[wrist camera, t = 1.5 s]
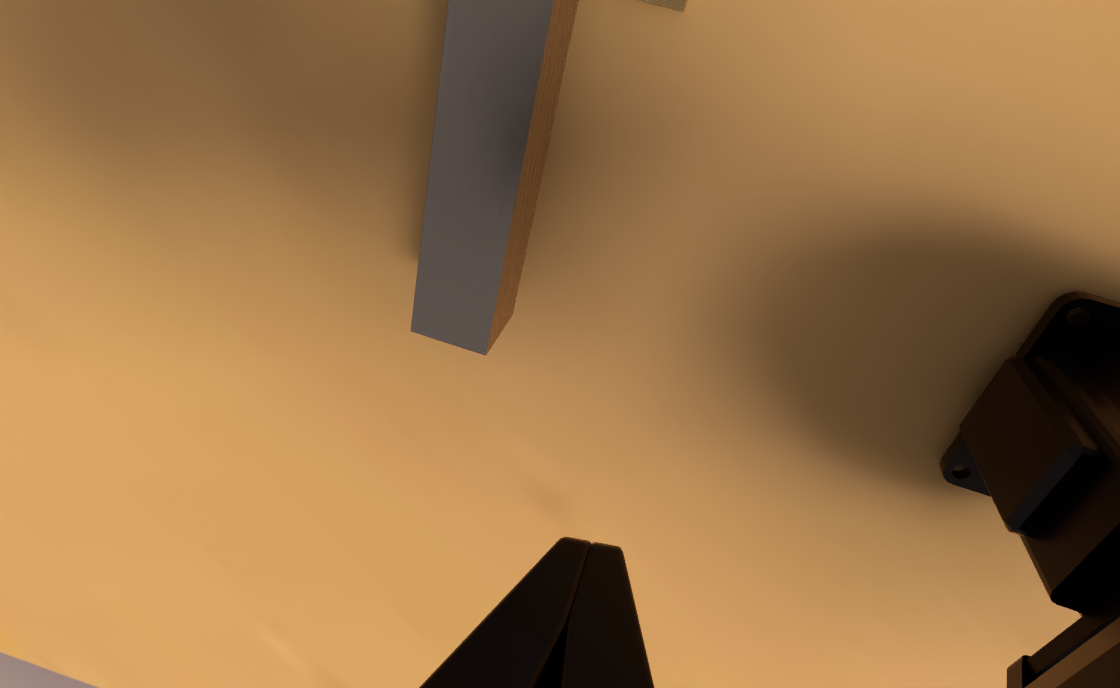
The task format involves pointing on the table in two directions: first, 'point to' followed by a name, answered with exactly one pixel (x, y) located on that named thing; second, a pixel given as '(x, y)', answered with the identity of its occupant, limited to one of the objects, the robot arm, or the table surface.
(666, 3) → the plate
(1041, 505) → the robot arm
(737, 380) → the table surface
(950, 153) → the table surface
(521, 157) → the lock bar
